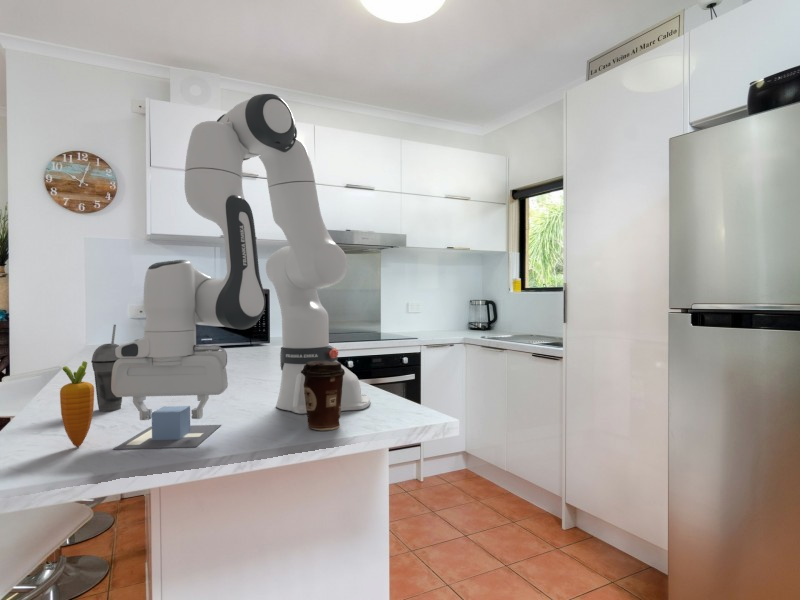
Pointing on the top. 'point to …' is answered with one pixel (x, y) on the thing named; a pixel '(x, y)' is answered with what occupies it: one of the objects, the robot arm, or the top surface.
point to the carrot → (77, 405)
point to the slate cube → (170, 422)
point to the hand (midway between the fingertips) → (171, 418)
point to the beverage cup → (105, 375)
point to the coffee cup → (323, 394)
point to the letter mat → (190, 440)
